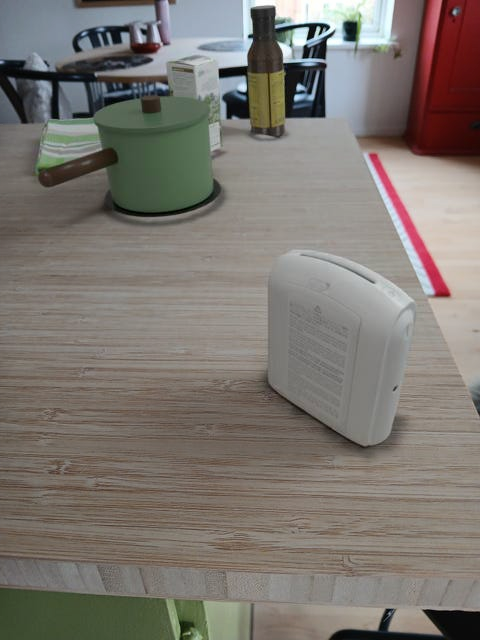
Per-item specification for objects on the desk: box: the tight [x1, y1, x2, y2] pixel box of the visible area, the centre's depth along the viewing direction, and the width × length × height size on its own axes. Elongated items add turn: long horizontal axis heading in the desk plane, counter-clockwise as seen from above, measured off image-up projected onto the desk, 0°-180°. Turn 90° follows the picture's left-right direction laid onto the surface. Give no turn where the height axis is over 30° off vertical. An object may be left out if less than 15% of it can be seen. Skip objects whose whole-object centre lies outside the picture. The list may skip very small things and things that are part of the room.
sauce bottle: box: [246, 4, 286, 138], centre depth 87 cm, size 6×6×20 cm
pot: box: [37, 94, 214, 212], centre depth 65 cm, size 24×15×12 cm, turn 138°
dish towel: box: [34, 117, 102, 177], centre depth 88 cm, size 17×23×4 cm
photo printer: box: [267, 249, 418, 447], centre depth 35 cm, size 10×4×12 cm, turn 45°
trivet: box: [104, 177, 222, 218], centre depth 71 cm, size 16×16×1 cm
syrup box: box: [165, 54, 223, 153], centre depth 81 cm, size 6×6×14 cm
